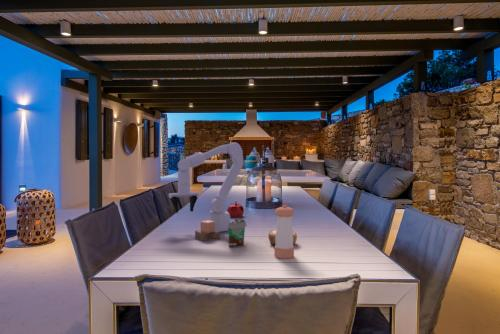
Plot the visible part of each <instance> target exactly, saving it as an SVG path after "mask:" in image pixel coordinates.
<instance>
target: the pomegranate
mask: <svg viewBox="0 0 500 334" xmlns="http://www.w3.org/2000/svg"><path fill="white" fill-rule="evenodd" d="M234 202H235V203H233V202H231V203H230V205H229V206H228V207H227V209H226V212H228V213H229V214H230V218H241V217H242V216H243V215H244V214H245V208H244V206H243V205H242V204H241V203H239V202H238V200H235V201H234Z"/></svg>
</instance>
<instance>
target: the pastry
mask: <svg viewBox="0 0 500 334" xmlns="http://www.w3.org/2000/svg"><path fill="white" fill-rule="evenodd" d="M276 231H277V229H274V230H271V231H268V240H269V242H270V244H271V245H273V246H274V247H275V246H276V242H275V237H276ZM292 232H293V246H294V245H295V244H296V242H297V239H298V237H297V236H298V235H297V233H296V232H295V231H294V230H292Z"/></svg>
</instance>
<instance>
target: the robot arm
mask: <svg viewBox="0 0 500 334" xmlns="http://www.w3.org/2000/svg"><path fill="white" fill-rule="evenodd" d="M243 153H244V152H243V149H242V146H241V145H240V144H239V143H238V142H235V141H234V142H230V143H226V144H222V145H218V146H217V147H215V148H213V149H210V150H208V151H206V152H201V151H199V152H198V151H196V152H194V154H191V155H189V156H188V155H186V156H185V158H182V159H180V160H179V161H178V162H177V168H178V170H177V173H178V174H177V192H172V193H168V198H169V199H170V201H171V203H172V206H173V209H174V213H175V214H176V213H177V214H179V213H178V212H179V208H178V207H179V198H186V197H187V198H188V197H189V198H188V199H189V211H190V212H194V208H195V205H196V202H197V200H198V197H200V193H199V191H192V192H191V173H190V169H191V168H192V169H194V168H196V167H198V166H200V165H202V164H205V162H206V160H207V159H210V158H212V157H215V156H218V155H221V154H226V155H227V154H228V156H230V159H231V161H232V165H231V167H230V169H229V171H228V173H227V175H226V177H225V179H224V181H223V182H222V185H221V187H220V189H219V191H218V192H217V194H216V195H215V197H214V198H213V199H211V201H210V207H211V210H210V211H209V220H210V221H215V231H218V232H219V233H220V232H229V229H228V223H231V216H230V214H229V213H228V212H227V211H226V210H225V205H226V204H225V203H226V201H227V199H228V196H229V194H230V192H231V190H232V187H233V186H234V184H235V182H236V180H237V177H238V176H239V174H240V172H241V170H242V168H243V166H244V156H243V155H244V154H243Z"/></svg>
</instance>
